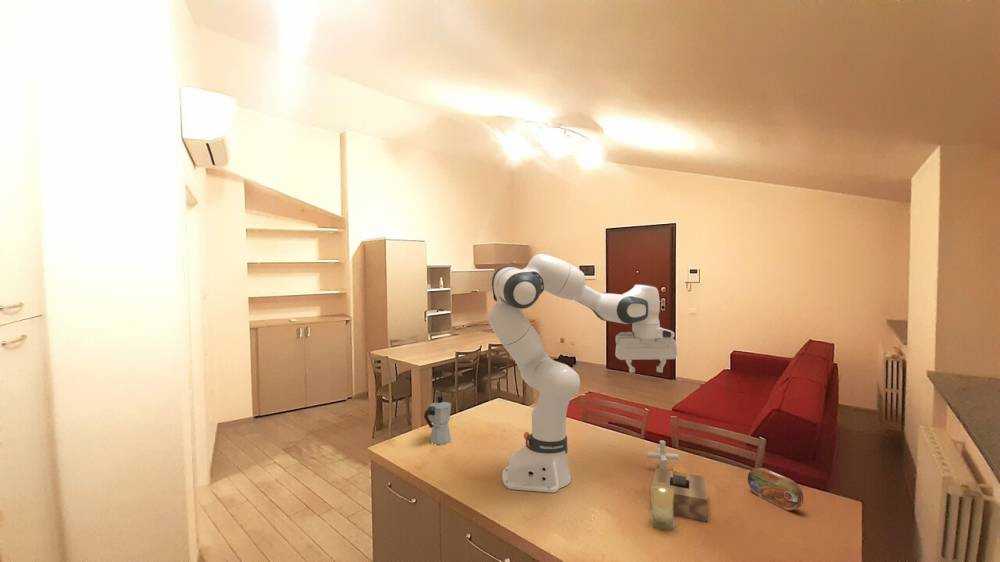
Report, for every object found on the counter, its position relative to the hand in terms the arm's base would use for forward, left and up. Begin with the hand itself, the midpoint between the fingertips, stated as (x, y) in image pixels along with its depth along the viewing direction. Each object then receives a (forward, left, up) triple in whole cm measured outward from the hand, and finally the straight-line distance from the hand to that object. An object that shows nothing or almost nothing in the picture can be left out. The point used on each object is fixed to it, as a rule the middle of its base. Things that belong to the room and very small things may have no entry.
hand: (645, 372), depth 145 cm
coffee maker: (-74, +25, -33) cm, 85 cm away
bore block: (+2, -22, -33) cm, 40 cm away
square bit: (+2, -22, -33) cm, 40 cm away
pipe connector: (+5, -2, -33) cm, 34 cm away
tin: (+30, -22, -33) cm, 50 cm away
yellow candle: (-7, -32, -33) cm, 47 cm away
